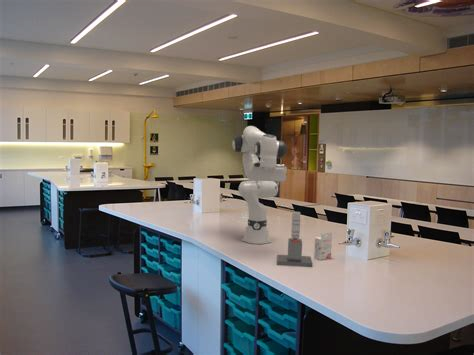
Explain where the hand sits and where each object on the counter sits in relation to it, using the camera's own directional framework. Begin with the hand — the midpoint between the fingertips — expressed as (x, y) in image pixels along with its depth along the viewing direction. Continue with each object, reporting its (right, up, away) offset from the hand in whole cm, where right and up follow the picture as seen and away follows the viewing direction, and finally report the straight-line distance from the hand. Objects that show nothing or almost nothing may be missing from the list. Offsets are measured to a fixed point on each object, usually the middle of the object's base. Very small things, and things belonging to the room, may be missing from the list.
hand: (267, 189), depth 235 cm
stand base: (+14, -39, -9) cm, 42 cm away
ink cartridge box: (+31, -39, +1) cm, 49 cm away
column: (+14, -30, -10) cm, 34 cm away
